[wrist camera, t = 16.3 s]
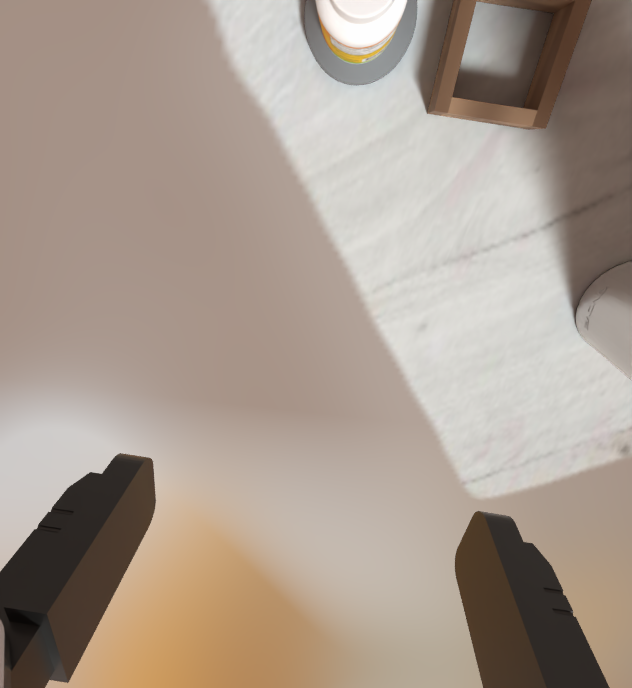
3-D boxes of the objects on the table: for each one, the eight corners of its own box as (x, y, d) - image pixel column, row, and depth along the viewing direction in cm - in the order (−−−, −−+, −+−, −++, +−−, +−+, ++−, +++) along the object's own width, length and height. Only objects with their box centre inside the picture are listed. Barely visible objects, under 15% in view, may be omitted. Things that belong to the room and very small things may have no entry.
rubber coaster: (427, -43, 27) (430, -49, 27) (400, 92, 31) (402, 91, 30) (313, -61, 27) (312, -68, 27) (299, 76, 31) (298, 74, 30)
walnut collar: (574, -3, 28) (598, -18, 25) (529, 129, 32) (545, 128, 29) (458, -21, 28) (469, -38, 25) (427, 113, 32) (434, 111, 29)
